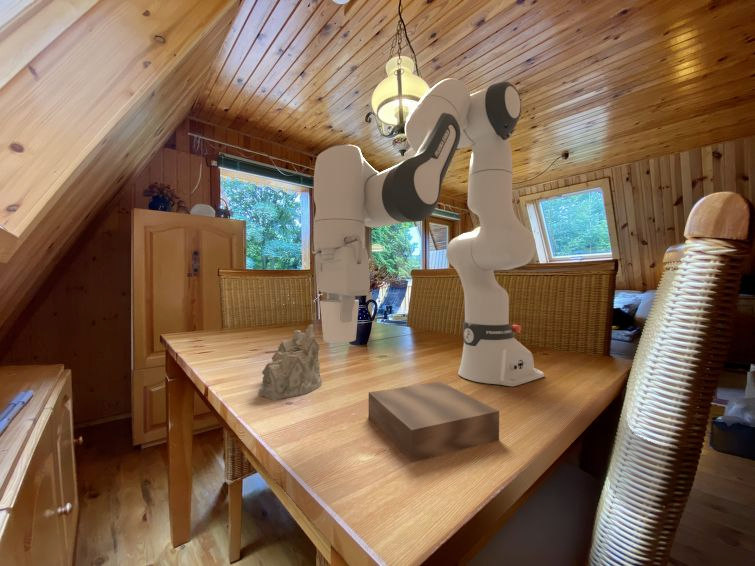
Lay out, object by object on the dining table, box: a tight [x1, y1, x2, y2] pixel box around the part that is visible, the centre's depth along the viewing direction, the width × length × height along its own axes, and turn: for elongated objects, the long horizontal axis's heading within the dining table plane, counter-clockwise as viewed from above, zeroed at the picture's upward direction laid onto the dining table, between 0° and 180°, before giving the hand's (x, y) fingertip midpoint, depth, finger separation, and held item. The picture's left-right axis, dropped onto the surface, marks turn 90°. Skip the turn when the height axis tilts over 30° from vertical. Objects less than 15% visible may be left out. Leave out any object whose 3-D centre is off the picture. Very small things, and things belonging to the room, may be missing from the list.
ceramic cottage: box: [258, 324, 323, 401], centre depth 75 cm, size 16×16×15 cm
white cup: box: [319, 298, 360, 344], centre depth 55 cm, size 7×7×7 cm
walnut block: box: [368, 381, 500, 464], centre depth 54 cm, size 16×16×5 cm
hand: (340, 319), depth 55 cm, fingers closed on white cup, 5 cm apart
